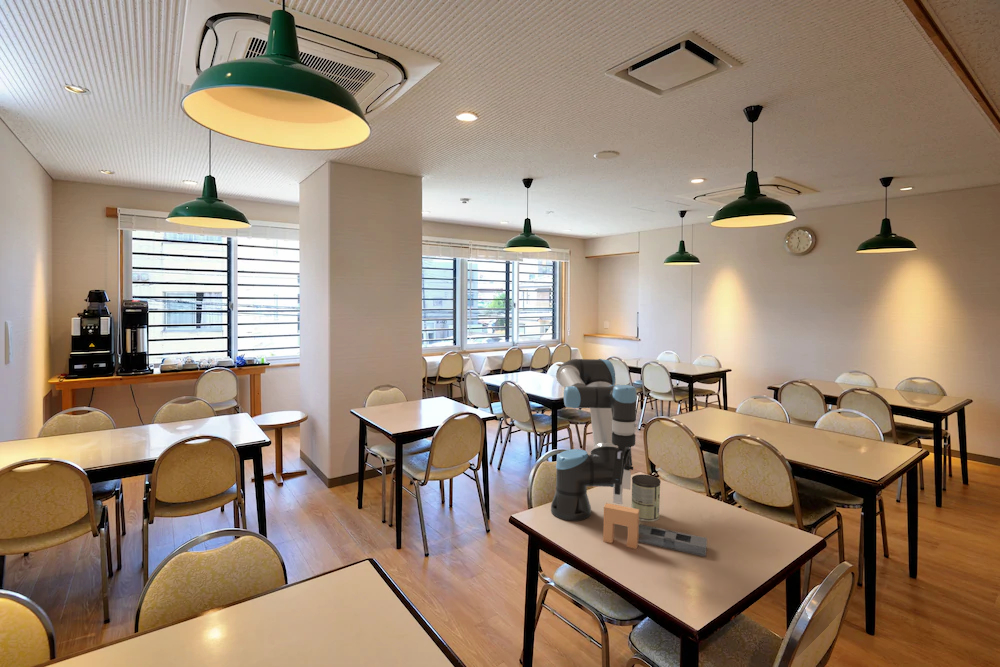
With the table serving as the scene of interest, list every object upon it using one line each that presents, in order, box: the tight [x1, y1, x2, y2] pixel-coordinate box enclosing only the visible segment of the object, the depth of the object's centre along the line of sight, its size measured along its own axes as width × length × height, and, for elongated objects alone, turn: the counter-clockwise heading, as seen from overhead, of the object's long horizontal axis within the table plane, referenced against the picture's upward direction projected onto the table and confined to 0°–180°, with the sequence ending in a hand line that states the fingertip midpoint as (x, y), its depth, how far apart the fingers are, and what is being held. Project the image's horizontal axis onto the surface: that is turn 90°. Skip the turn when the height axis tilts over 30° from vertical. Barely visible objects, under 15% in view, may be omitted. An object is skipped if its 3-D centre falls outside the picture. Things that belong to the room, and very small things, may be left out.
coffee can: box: [631, 474, 661, 523], centre depth 180 cm, size 10×10×14 cm
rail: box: [638, 523, 708, 558], centre depth 159 cm, size 22×7×3 cm, turn 64°
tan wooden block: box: [602, 502, 640, 550], centre depth 159 cm, size 11×4×12 cm, turn 64°
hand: (622, 495), depth 158 cm, fingers open, 13 cm apart
